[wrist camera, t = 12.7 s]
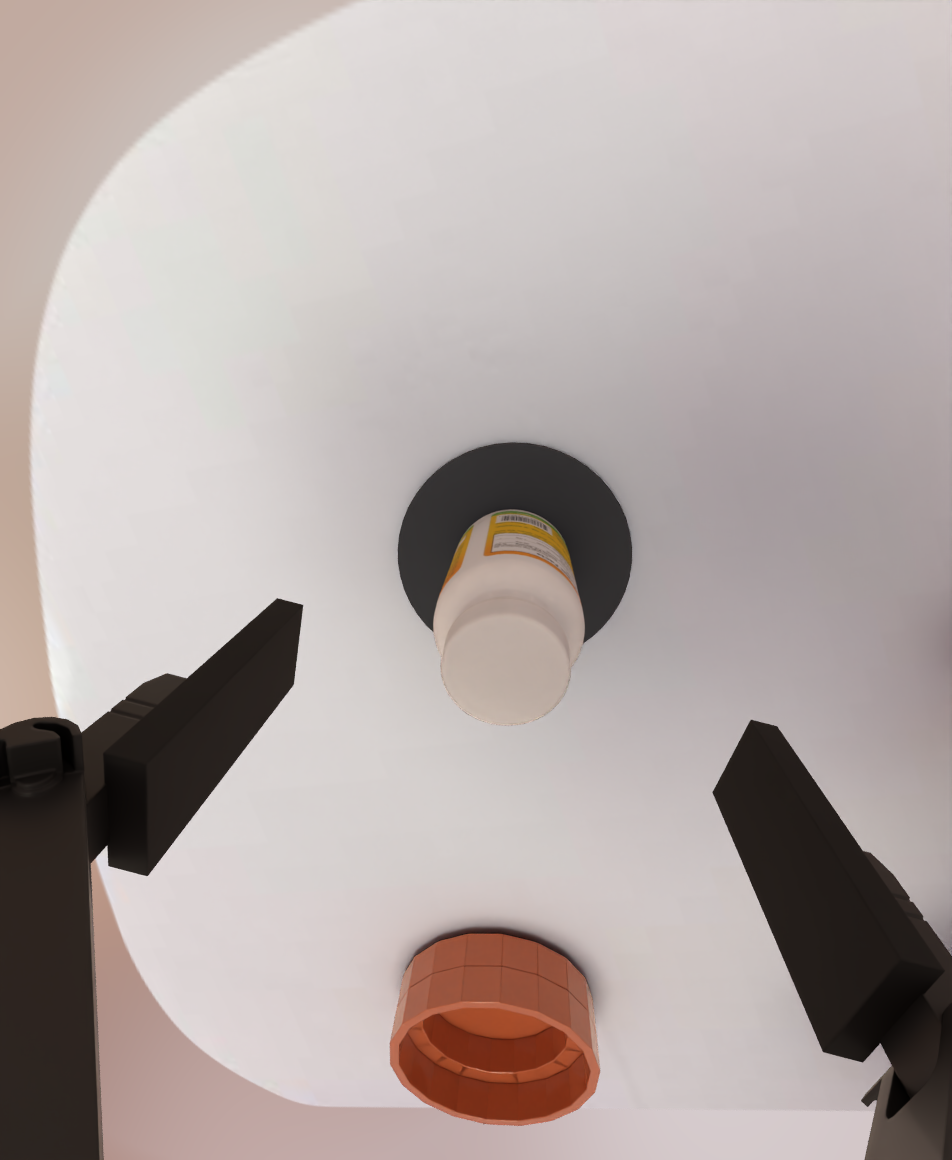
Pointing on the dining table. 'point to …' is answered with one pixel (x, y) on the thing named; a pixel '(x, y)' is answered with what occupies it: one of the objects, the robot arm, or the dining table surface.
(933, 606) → the dining table surface
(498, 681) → the supplement bottle
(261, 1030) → the dining table surface
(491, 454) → the coaster
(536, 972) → the bowl
